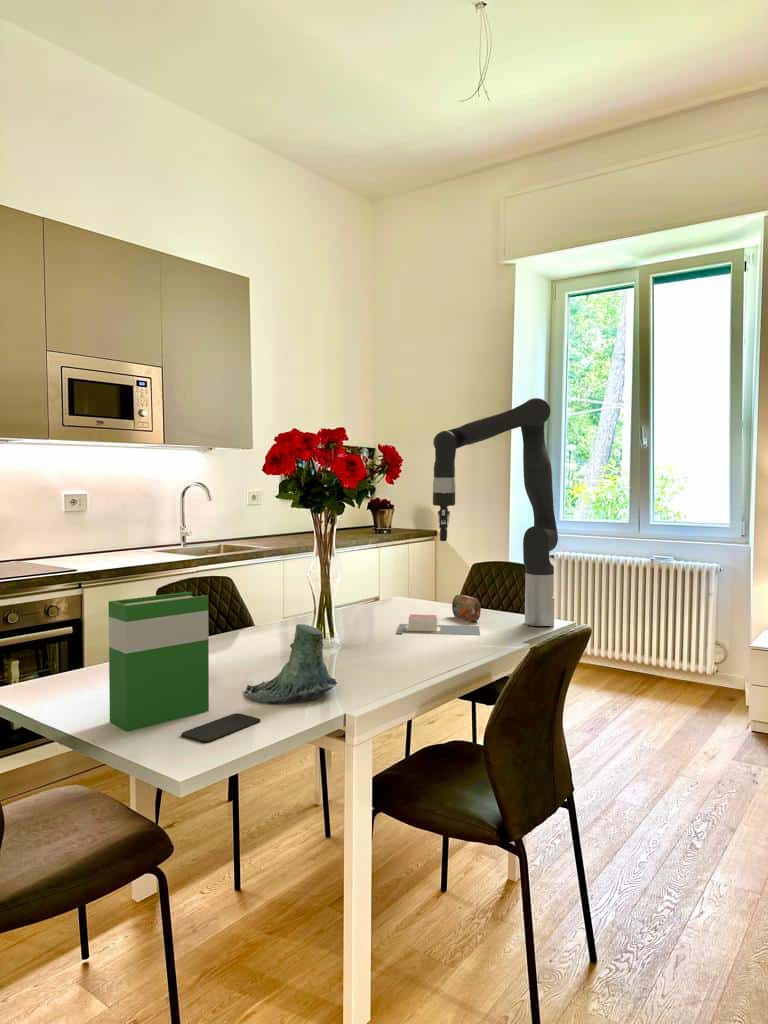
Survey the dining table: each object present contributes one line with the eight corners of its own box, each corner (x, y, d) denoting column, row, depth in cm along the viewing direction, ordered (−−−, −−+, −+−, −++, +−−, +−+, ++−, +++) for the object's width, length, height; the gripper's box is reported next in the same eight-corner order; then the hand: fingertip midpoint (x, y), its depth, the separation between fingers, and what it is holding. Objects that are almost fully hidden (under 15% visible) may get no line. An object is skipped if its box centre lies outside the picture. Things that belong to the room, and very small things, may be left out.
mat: (479, 627, 234) (479, 625, 234) (480, 636, 220) (480, 635, 220) (399, 625, 236) (399, 623, 236) (396, 634, 222) (396, 632, 222)
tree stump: (260, 681, 172) (279, 609, 171) (338, 706, 168) (357, 633, 167) (230, 700, 154) (251, 620, 153) (317, 729, 150) (338, 647, 149)
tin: (451, 616, 252) (451, 592, 252) (458, 615, 253) (459, 592, 253) (474, 624, 238) (474, 599, 238) (482, 623, 240) (482, 598, 239)
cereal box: (190, 702, 153) (189, 591, 152) (208, 711, 148) (208, 595, 147) (109, 722, 140) (108, 601, 139) (126, 731, 135) (125, 606, 134)
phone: (263, 719, 142) (206, 741, 129) (263, 723, 142) (206, 746, 129) (236, 712, 146) (178, 733, 133) (236, 716, 146) (178, 737, 133)
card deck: (409, 626, 231) (409, 614, 231) (437, 627, 230) (437, 614, 230) (408, 629, 226) (408, 617, 226) (436, 630, 225) (437, 617, 225)
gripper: (433, 490, 245) (433, 538, 246) (432, 491, 231) (431, 541, 232) (455, 491, 244) (454, 538, 245) (455, 491, 230) (454, 541, 231)
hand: (443, 539), depth 238 cm, fingers open, 8 cm apart
